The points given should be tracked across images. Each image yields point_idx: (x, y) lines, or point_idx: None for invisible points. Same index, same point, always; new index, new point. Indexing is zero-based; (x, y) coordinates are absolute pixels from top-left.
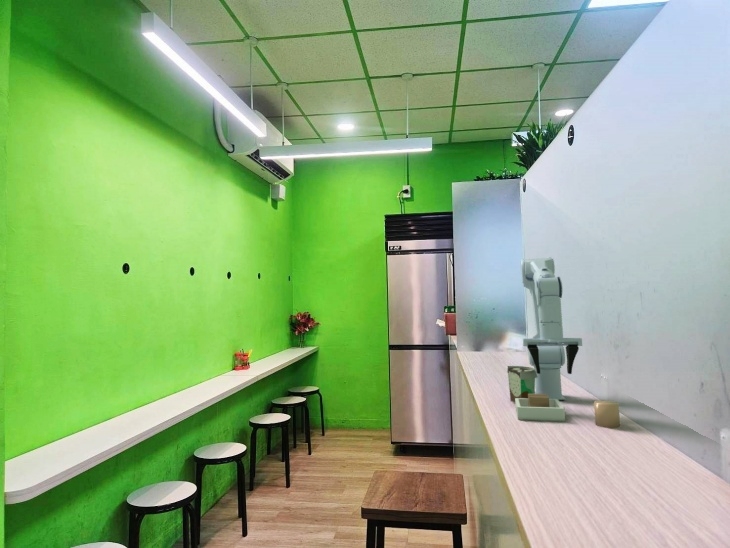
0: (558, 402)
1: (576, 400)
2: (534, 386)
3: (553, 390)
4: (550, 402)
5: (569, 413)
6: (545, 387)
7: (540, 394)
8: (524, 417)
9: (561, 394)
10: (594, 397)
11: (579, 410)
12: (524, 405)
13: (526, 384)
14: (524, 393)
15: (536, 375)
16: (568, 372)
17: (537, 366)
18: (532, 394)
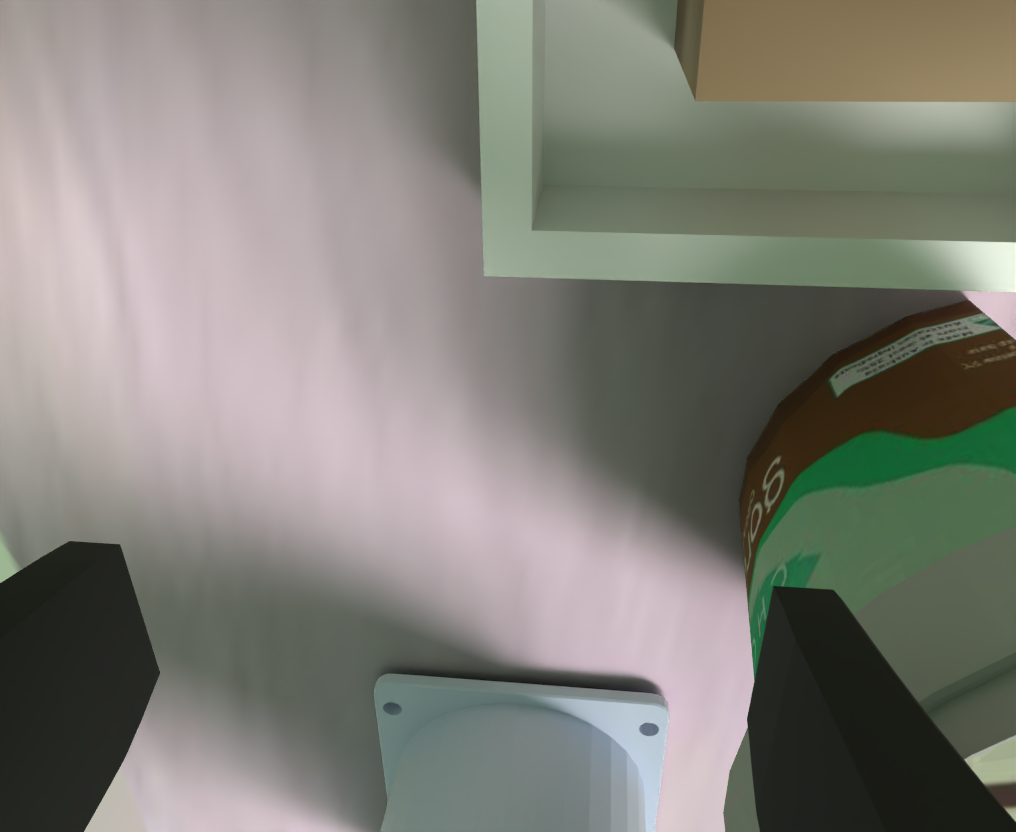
0: (502, 5)
1: (277, 680)
2: None
3: (470, 773)
4: (601, 218)
5: (380, 94)
6: (553, 812)
7: (834, 24)
8: None
9: (397, 770)
10: (127, 771)
11: (256, 274)
12: (985, 210)
13: (1007, 488)
14: (993, 395)
15: None
16: (113, 592)
17: (900, 719)
18: (1013, 2)
